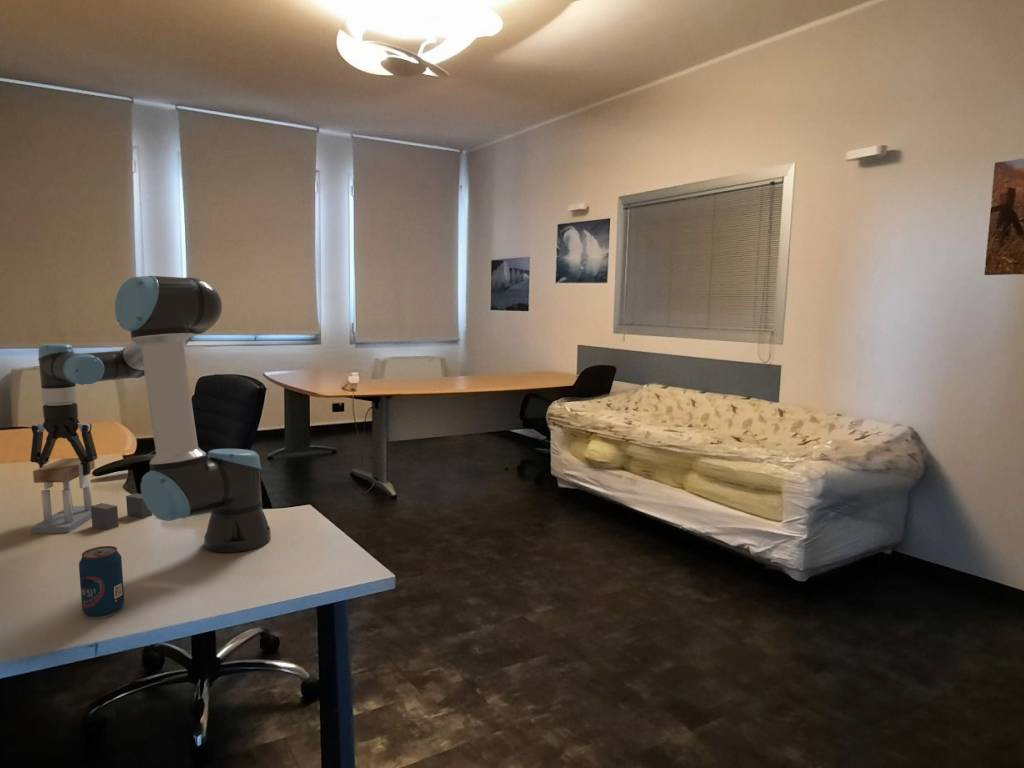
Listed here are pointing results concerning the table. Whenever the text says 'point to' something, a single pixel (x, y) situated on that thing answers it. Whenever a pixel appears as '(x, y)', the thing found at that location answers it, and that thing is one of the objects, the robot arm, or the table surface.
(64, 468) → the shelf board
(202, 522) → the table surface
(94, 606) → the soda can
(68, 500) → the peg stand
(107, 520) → the rests
